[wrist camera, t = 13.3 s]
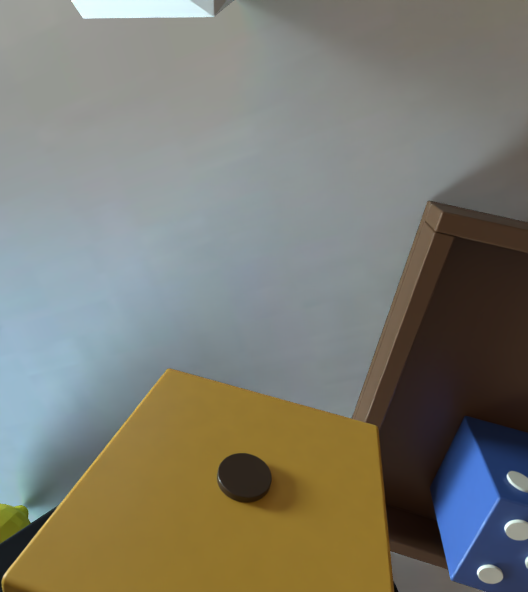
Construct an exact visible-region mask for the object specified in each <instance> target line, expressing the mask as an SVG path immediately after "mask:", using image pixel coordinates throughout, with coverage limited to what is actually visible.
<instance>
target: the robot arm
mask: <svg viewBox="0 0 528 592" xmlns="http://www.w3.org/2000/svg"><path fill="white" fill-rule="evenodd" d="M58 506H59V505H58ZM58 506H57V507H58ZM57 507H55V508H54V509H52V510H51V511H49V512H48V513H46V514H44V515H43V516H41V517H40V518H38V519H37V520H35V521H34V522H32V523H31V524H29V525H28V526H26V527H25V528H23V529H22V530H20V531H19V532H17V533H16V534H14V535H13V536H11V537H9V538H8V539H6V540H5V541H3V542H2V543H0V592H3V591H2V583H1V581H2V578H3V576H4V574H5V573H6V571H7V570H8V569H9V568H10V566H11V565H12V564H13V563H14V561H15V560H16V559H17V557H18V556H19V555H20V554H21V552H22V551H23V550H24V549H25V547H26V546H27V545H28V544H29V542H30V541H31V540H32V539H33V537H34V536H35V535H36V534H37V532H38V531H39V530H40V529H41V527H42V526H43V525H44V524H45V522H46V521H47V520H48V518H49V517H50V516H51V515H52V513H53V512H54V511H55V510H56V508H57ZM393 584H394V592H398V590H397V587H396V585H395V583H394V581H393Z"/></svg>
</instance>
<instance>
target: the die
mask: <svg viewBox="0 0 528 592" xmlns="http://www.w3.org/2000/svg"><path fill="white" fill-rule="evenodd" d="M71 1H72V3H73V4H74V6H75V7H76V8H77V10H78V11H79V13H80V14H81V16H82V17H83V18H151V17H214V16H216V15H217V14H218V13H219V12H220V11H222V10H223V9H224V8H225V7H227V6H228V5H229V4H230V3H232V2H233V1H234V0H71Z"/></svg>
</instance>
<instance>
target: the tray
mask: <svg viewBox="0 0 528 592" xmlns="http://www.w3.org/2000/svg"><path fill="white" fill-rule="evenodd" d="M464 416H469V417H472V418H476V419H480V420H483V421H487V422H490V423H494V424H498V425H501V426H505V427H509V428H512V429H516V430H519V431H523V432H527V433H528V222H524V221H519V220H515V219H510V218H506V217H501V216H496V215H492V214H487V213H483V212H478V211H474V210H469V209H465V208H460V207H456V206H451V205H447V204H442V203H437V202H433V201H428V202H427V205H426V208H425V210H424V213H423V216H422V219H421V222H420V225H419V228H418V231H417V233H416V236H415V239H414V242H413V245H412V248H411V251H410V253H409V256H408V259H407V262H406V265H405V268H404V271H403V274H402V276H401V279H400V282H399V285H398V288H397V291H396V294H395V296H394V299H393V302H392V305H391V308H390V311H389V314H388V316H387V319H386V322H385V325H384V328H383V331H382V334H381V337H380V339H379V342H378V345H377V348H376V351H375V354H374V357H373V359H372V362H371V365H370V368H369V371H368V374H367V377H366V380H365V382H364V385H363V388H362V391H361V394H360V397H359V400H358V402H357V405H356V408H355V411H354V414H353V417H352V419H355V420H358V421H362V422H365V423H369V424H373V425H376V426H377V427H378V430H379V441H380V451H381V461H382V471H383V482H384V492H385V502H386V513H387V523H388V533H389V543H390V551H392V552H395V553H398V554H401V555H404V556H407V557H410V558H414V559H417V560H420V561H423V562H426V563H429V564H432V565H435V566H439V567H442V568H445V569H448V566H447V561H446V557H445V553H444V548H443V544H442V540H441V535H440V531H439V527H438V522H437V518H436V514H435V509H434V505H433V501H432V496H431V492H430V486H431V484H432V482H433V480H434V478H435V476H436V474H437V472H438V470H439V468H440V466H441V464H442V462H443V459H444V457H445V455H446V453H447V451H448V449H449V447H450V445H451V443H452V441H453V439H454V437H455V435H456V433H457V431H458V429H459V427H460V425H461V423H462V421H463V418H464Z"/></svg>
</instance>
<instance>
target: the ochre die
mask: <svg viewBox="0 0 528 592" xmlns="http://www.w3.org/2000/svg"><path fill="white" fill-rule="evenodd" d="M1 583H2V591H3V592H394V584H393V574H392V564H391V554H390V543H389V533H388V523H387V513H386V502H385V492H384V482H383V471H382V461H381V451H380V441H379V430H378V427H377V426H376V425H373V424H369V423H365V422H362V421H358V420H355V419H351V418H347V417H344V416H340V415H337V414H333V413H329V412H326V411H322V410H318V409H315V408H311V407H308V406H304V405H300V404H297V403H293V402H290V401H286V400H282V399H279V398H275V397H271V396H268V395H264V394H261V393H257V392H253V391H250V390H246V389H243V388H239V387H235V386H232V385H228V384H224V383H221V382H217V381H214V380H210V379H206V378H203V377H199V376H196V375H192V374H188V373H185V372H181V371H178V370H174V369H167V370H166V371H165V373H164V374H163V375H162V376H161V378H160V379H159V380H158V381H157V383H156V384H155V385H154V386H153V388H152V389H151V390H150V391H149V393H148V394H147V395H146V396H145V398H144V399H143V400H142V401H141V403H140V404H139V405H138V406H137V408H136V409H135V410H134V412H133V413H132V414H131V415H130V417H129V418H128V419H127V420H126V422H125V423H124V424H123V425H122V427H121V428H120V429H119V430H118V432H117V433H116V434H115V435H114V437H113V438H112V439H111V440H110V442H109V443H108V444H107V445H106V447H105V448H104V449H103V451H102V452H101V453H100V454H99V456H98V457H97V458H96V459H95V461H94V462H93V463H92V464H91V466H90V467H89V468H88V469H87V471H86V472H85V473H84V474H83V476H82V477H81V478H80V479H79V481H78V482H77V483H76V484H75V486H74V487H73V488H72V490H71V491H70V492H69V493H68V495H67V496H66V497H65V498H64V500H63V501H62V502H61V503H60V505H59V506H58V507H57V508H56V510H55V511H54V512H53V513H52V515H51V516H50V517H49V518H48V520H47V521H46V522H45V524H44V525H43V526H42V527H41V529H40V530H39V531H38V532H37V534H36V535H35V536H34V537H33V539H32V540H31V541H30V542H29V544H28V545H27V546H26V547H25V549H24V550H23V551H22V552H21V554H20V555H19V556H18V557H17V559H16V560H15V561H14V563H13V564H12V565H11V566H10V568H9V569H8V570H7V571H6V573H5V574H4V576H3V578H2V581H1Z"/></svg>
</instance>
